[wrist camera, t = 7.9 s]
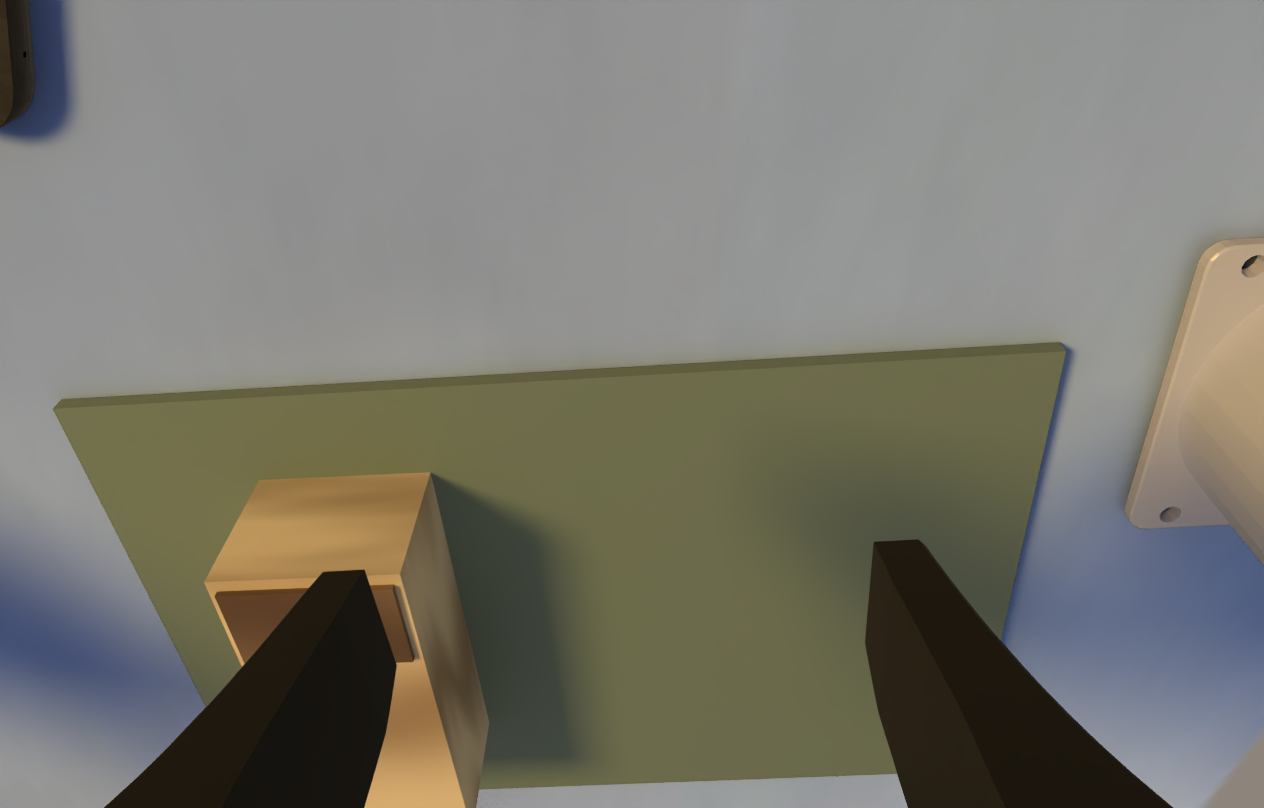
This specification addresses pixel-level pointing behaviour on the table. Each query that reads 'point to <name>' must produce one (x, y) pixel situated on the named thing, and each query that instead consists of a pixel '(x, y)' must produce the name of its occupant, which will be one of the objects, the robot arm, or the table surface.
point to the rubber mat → (625, 535)
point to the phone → (15, 60)
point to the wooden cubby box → (406, 600)
